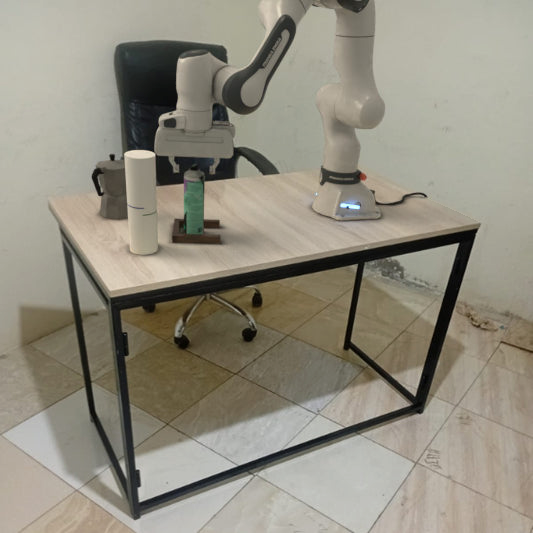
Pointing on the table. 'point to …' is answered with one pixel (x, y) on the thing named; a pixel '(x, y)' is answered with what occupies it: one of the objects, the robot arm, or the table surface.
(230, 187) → the table surface
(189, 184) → the spray can
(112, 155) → the coffeepot
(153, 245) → the cylindrical container
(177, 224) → the frame
